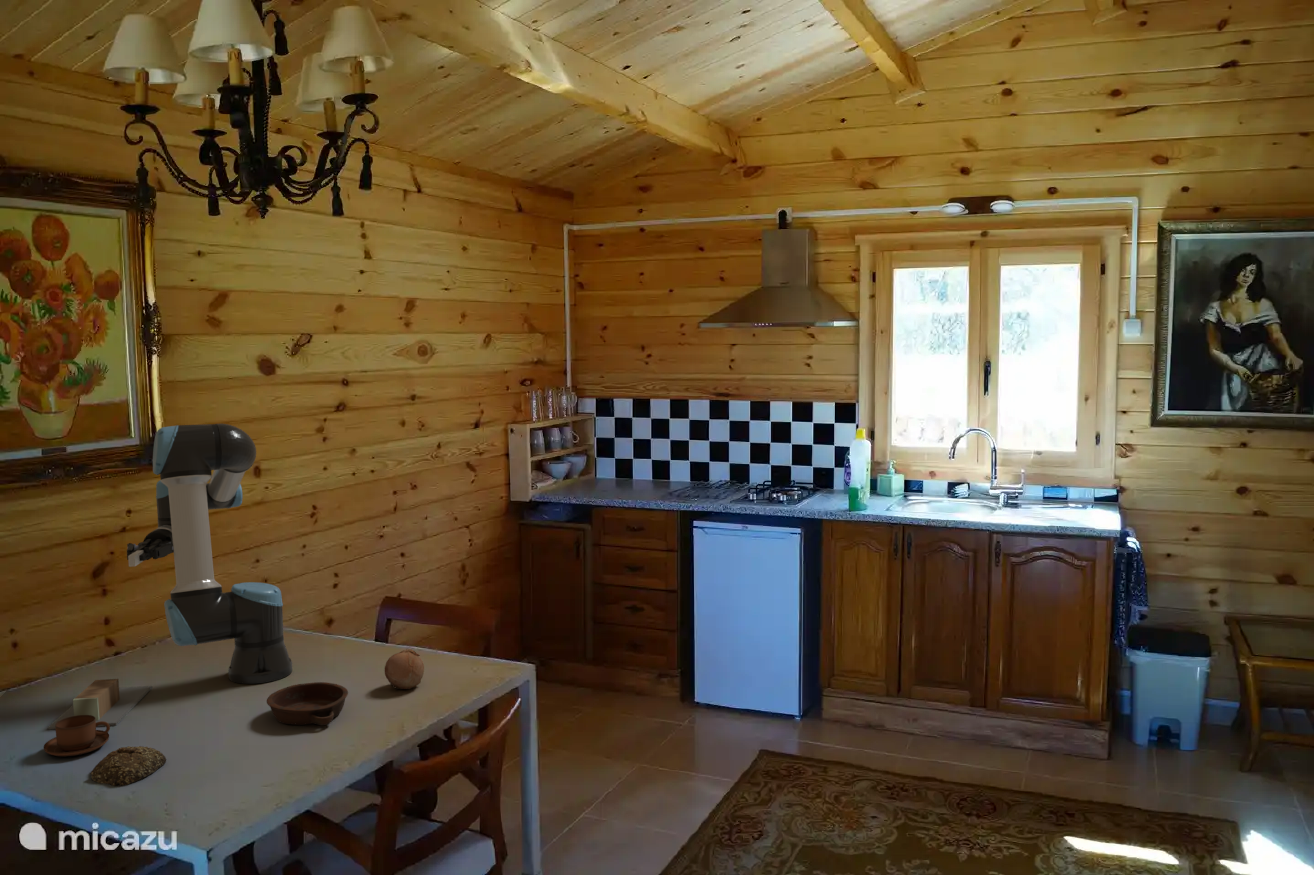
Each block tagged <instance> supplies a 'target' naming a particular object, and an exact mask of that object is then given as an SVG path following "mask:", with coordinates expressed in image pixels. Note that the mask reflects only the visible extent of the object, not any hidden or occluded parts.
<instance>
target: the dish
mask: <svg viewBox="0 0 1314 875" xmlns="http://www.w3.org/2000/svg"><path fill="white" fill-rule="evenodd" d="M348 695H349V691H348V689H347V688H346V687H345V686H343V685H340V684H337V683H334V682H333V683H332V682H324V681H322V682H321V681H319V682H318V681H316V682H315V681H314V682H306V683H297V684H293V685H289V686H287V687H283V688H281V689H277V691H274V692H273V693H271V694H269V696H268V697H267V698H266V704H267V705H268V706H269V707H270V709H271V712H272V714H273V717H274V718H275V719H276V720H277V721H278V722H280V723H283V724H287V725H294V726H295V725H297V726H298V725H300V726H301V725H311V724H312V725H313V724H315V725H316V726H317V725H318V726H325V725H328V724H331V723H332V722H333V720H334V718H335V717H337V716H338V715H339V714H340V713H341V712H342V711H343V708H344V705H345V701H346V698H347V697H348Z"/></svg>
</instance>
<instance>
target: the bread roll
mask: <svg viewBox="0 0 1314 875" xmlns="http://www.w3.org/2000/svg"><path fill="white" fill-rule="evenodd" d="M166 762H167V758H166V756H165V754H163V753H162V752H161V750H159V749H158V750H157V749H156V748H153V747H148V746H143V745H142V746H141V745H140V746H123V747H120V748H117V749H115V750H112V751H111V752H109V753H108V754H107V755H106V756H105V757H103V758H102V759H101V760H100V761H99V762H98V763H97V764H96V765H95V766H94V768H93V769H92V770H91V773H90V775H91V779H92V781H93V782H97V784H104V785H105V784H106V785H111V786H112V787H121V786H128V785H131V784H134V783H135V782H138V781H140V780H143V779H144V778H146V777H148V776H149V775H152V774H154V773H155V772H156V771H157V770H159V769H160V768H161V767H163V766H164V765H165V764H166Z"/></svg>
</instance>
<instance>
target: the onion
mask: <svg viewBox="0 0 1314 875" xmlns="http://www.w3.org/2000/svg"><path fill="white" fill-rule="evenodd" d="M420 656H421V655H420V654H419V653H417V652H416V651H415V650H413V649H411V648H407V649H404V650H402V651H400V652H397V653H394V654H392V655H391V656H390V657H389V658H388V659H387V660H386V663H385V665H384V675H385V678H386V680H387V681H388V682H389V684H390V686H392V687H393V688H394V689H397V690H399V691H401V690H409V689H410V690H411V689H412V688H413V689H414V688H417V686H419V685H420V684H421V683H422V682H421V681H422V680H423V677H424V673H425V665H424V664H425V663H424V661H423V660H422V658H421V657H420Z"/></svg>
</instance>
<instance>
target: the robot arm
mask: <svg viewBox="0 0 1314 875" xmlns="http://www.w3.org/2000/svg"><path fill="white" fill-rule="evenodd" d="M256 458H257V448H256V444H255V441H253V439H252V438H251V436H250V435H249V434H247V432H245V431H244V430H242V428H239V427H237V426H234V425H231V424H228V423H227V424H226V423H213V424H204V423H203V424H180V425H178V424H176V425H171V426H163V427H160V428H159V429H158V430H157V431H156V433H155V437H154V441H153V450H152V472H153V474H154V475H156V476H158V475H160V480H158V481H157V483H156V488H155V489H156V490H155V491H156V493H155V494H156V495H155V498H156V508H157V509H156V511H157V512H156V513H157V528H156V529H153V530H152V531H151V532H149V533H148V534H146V536H145V537H144V539H143V541H142V542H138V544H137V545H136V543H131V542H129V543H127V544H126V545H127V549H126V559H127V560H128V567H131V568H132V567H136V566H137V567H138V565H139V564H141V563H143V562H145V561H150V560H151V559H152V560H158V559H162V558H165V557H167V556H168V555H171V554H173V558H174V560H173V561H174V571H175V586H174V587H173V588H172V590H171V591H170V592H169V593H170V598H168V599H167V600H165V601H164V604H163V606H164V610H165V611H164V613H165V618H166V619H165V620H166V622H167V623H166V624H167V627H168V629H169V633H170V637H171V639H172V641H173V643H174V644H175V645H177V646H180V647H185V646H197V645H202V644H207V643H213V642H219V641H228V640H232V639H234V648H233V652H232V655H231V660H230V665H229V666H228V679H229V680H230V682H233V683H236V684H244V685H247V684H248V685H250V684H251V685H253V684H264V683H270V682H274V681H277V680H281V679H283V678H286V677H287V676H289V675H290V674H292V673H293V661H292V658H290V656H289V652H288V649H287V647H286V644H285V638H284V616H283V606H284V604H283V599H282V598H283V597H282V591H281V589H280V588H279V587H278V586H276V585H274V584H271V583H266V582H265V583H264V582H257V581H255V582H253V581H251V582H249V581H247V582H240V583H234V584H233V585H232V586H231V588H230V591H227V592H223V586H222V585H221V583H220V582H218V581H216V579H215V572H214V562H213V561H214V560H213V552H212V551H213V550H212V549H213V548H212V539H211V527H210V518H209V510H221V509H231V508H237V507H240V506H241V505H242V503H243V489H242V488H243V487H242V484H241V483H242V480H243V477H244V476H245V473H246V471H248V470H250V469H251V467H252V466H253V465H254V463H255V461H256ZM212 471H213V472H212Z"/></svg>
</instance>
